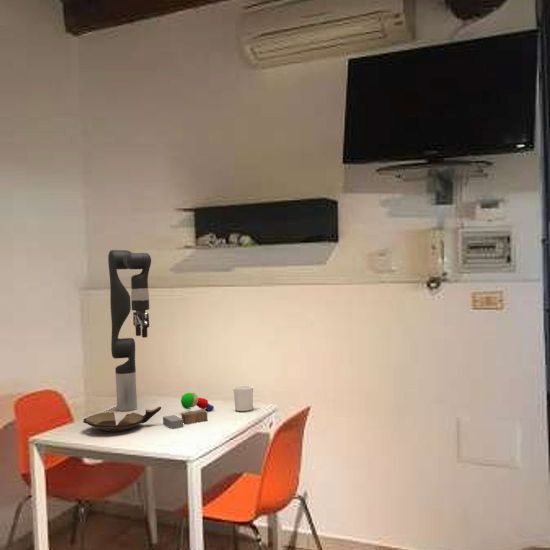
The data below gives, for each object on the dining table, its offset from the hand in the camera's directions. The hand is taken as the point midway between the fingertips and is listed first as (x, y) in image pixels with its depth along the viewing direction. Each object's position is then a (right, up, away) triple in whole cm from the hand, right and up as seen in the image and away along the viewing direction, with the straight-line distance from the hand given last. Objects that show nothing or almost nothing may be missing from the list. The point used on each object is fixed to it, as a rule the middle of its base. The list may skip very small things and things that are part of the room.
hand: (141, 336), depth 258 cm
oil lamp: (-5, -37, -14) cm, 40 cm away
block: (+19, -34, -9) cm, 40 cm away
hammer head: (+16, -36, -11) cm, 40 cm away
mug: (+44, -35, +13) cm, 57 cm away
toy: (+23, -36, +11) cm, 43 cm away
